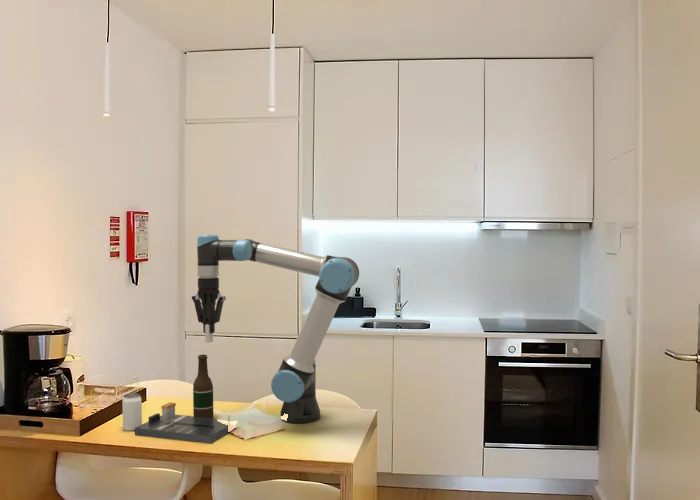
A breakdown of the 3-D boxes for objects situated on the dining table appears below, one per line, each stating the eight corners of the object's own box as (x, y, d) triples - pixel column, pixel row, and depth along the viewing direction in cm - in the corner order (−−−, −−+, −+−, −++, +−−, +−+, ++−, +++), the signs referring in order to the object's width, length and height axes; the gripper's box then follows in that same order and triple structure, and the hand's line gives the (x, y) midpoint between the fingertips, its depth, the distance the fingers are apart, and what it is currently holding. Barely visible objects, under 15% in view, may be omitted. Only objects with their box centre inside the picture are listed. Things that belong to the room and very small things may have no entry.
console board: (237, 427, 224) (236, 415, 224) (210, 443, 207) (210, 430, 207) (165, 420, 234) (165, 408, 234) (134, 435, 217) (134, 422, 216)
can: (135, 431, 220) (135, 398, 220) (119, 430, 222) (118, 397, 221) (145, 426, 227) (144, 393, 226) (129, 425, 228) (128, 392, 228)
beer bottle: (216, 415, 239) (215, 353, 239) (210, 421, 231) (209, 357, 231) (197, 415, 240) (196, 353, 239) (189, 421, 232) (189, 357, 232)
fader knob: (175, 419, 225) (175, 402, 225) (167, 423, 220) (167, 406, 220) (170, 418, 225) (169, 402, 225) (161, 422, 221) (161, 406, 220)
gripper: (229, 276, 228) (230, 341, 228) (198, 276, 232) (199, 339, 232) (218, 278, 221) (219, 344, 221) (186, 277, 225) (187, 342, 225)
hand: (209, 341), depth 227 cm, fingers closed
